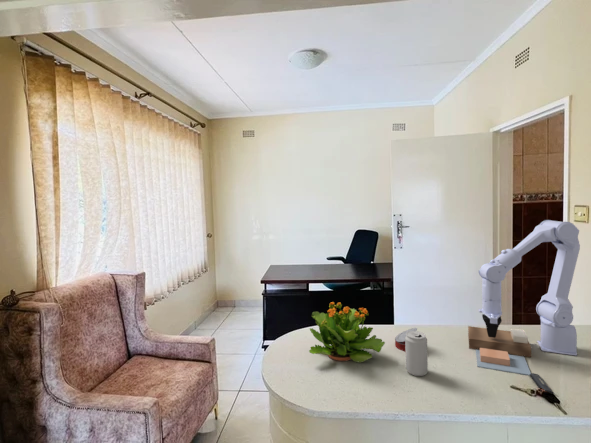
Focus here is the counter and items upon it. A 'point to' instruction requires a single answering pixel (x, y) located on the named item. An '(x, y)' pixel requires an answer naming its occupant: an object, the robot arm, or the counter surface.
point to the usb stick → (540, 382)
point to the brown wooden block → (497, 342)
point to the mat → (516, 366)
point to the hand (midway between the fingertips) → (491, 336)
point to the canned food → (402, 339)
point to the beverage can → (416, 353)
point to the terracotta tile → (494, 356)
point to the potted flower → (344, 335)
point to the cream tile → (519, 336)
